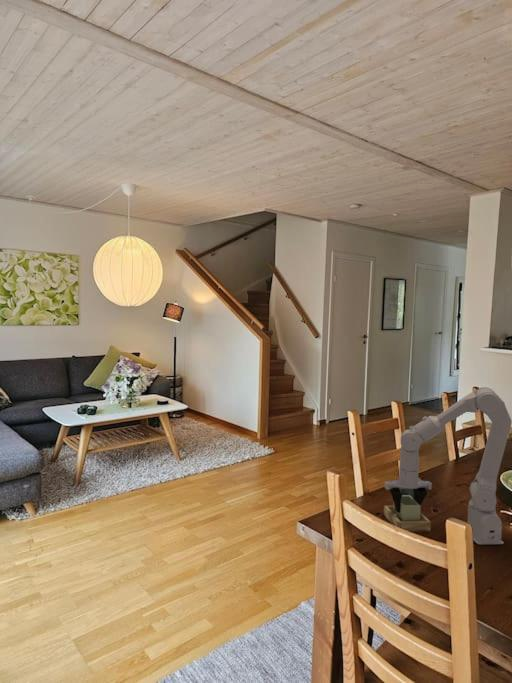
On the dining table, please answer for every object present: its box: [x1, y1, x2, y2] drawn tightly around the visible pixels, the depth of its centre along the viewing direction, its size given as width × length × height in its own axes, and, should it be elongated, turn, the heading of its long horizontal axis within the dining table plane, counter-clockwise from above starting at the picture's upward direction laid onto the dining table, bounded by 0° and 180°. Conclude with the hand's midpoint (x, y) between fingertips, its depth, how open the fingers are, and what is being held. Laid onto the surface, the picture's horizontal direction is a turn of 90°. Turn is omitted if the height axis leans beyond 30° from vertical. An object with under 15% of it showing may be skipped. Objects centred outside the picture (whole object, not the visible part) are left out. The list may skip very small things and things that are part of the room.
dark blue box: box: [399, 476, 422, 499], centre depth 160 cm, size 9×3×11 cm, turn 24°
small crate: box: [392, 495, 422, 521], centre depth 143 cm, size 8×5×5 cm
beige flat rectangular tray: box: [383, 505, 432, 533], centre depth 143 cm, size 12×10×3 cm
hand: (406, 511), depth 143 cm, fingers closed on small crate, 5 cm apart
